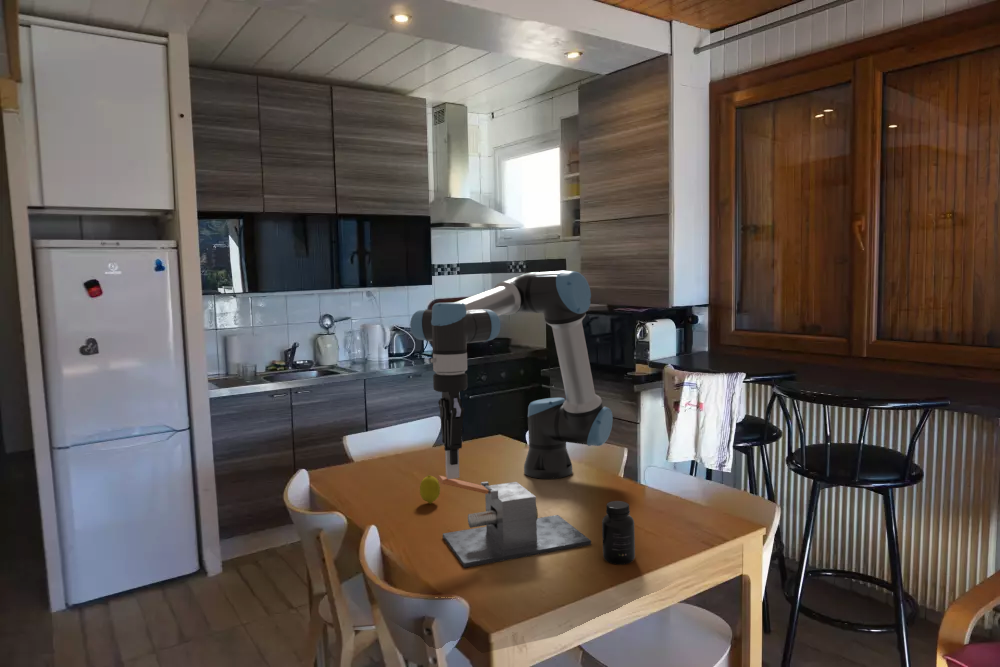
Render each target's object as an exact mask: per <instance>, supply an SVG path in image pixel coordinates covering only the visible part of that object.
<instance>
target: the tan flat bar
mask: <svg viewBox="0 0 1000 667" xmlns="http://www.w3.org/2000/svg"><path fill="white" fill-rule="evenodd" d="M437 480H438V482H439V483H441V484H442V485H446V486H449V487H450V486H451V487H455V488H459V489H464V490H468V491H473V492H477V493H480V494H484V495H485V494H490V491H491V490H492V489H491V488H490V487H489V486H490V485H489V486H487V485H486V486H485V487H484V486H483V485H481V484H478V483H473V482H470V481H469V482H468V481H466V480H462V479H461V480H459V479H458V478H454V479H447V478H446V476H445V475H438V477H437Z"/></svg>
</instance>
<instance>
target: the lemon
mask: <svg viewBox="0 0 1000 667" xmlns="http://www.w3.org/2000/svg"><path fill="white" fill-rule="evenodd" d="M419 494H420V497H421V498H422V500H423V501H425V502H426V503H428V504H430V505H431V504H432V503H433V502H435V501H436V500H437V499H438V498H439V496H440V494H441V486H440V481H439V480H438V478H437V477H435V476H433V475H431V474H429V475H427V476H425V477H424V478H423V479H422V480H421V481H420V484H419Z"/></svg>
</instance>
